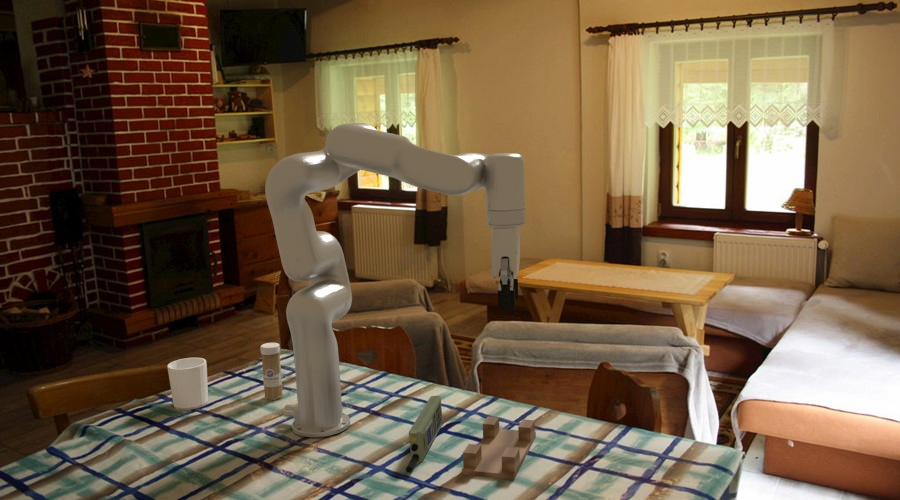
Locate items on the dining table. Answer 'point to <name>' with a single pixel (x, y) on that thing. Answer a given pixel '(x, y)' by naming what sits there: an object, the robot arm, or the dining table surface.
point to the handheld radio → (424, 431)
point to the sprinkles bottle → (271, 371)
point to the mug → (188, 383)
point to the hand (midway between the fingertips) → (508, 304)
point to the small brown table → (499, 450)
